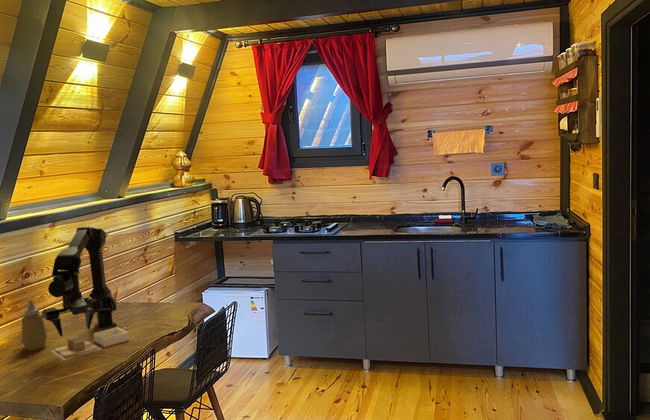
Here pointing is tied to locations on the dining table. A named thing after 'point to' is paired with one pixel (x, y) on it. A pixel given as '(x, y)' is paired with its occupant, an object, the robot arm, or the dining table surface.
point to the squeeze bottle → (33, 328)
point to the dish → (111, 336)
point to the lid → (75, 347)
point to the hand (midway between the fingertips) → (75, 332)
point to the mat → (73, 356)
